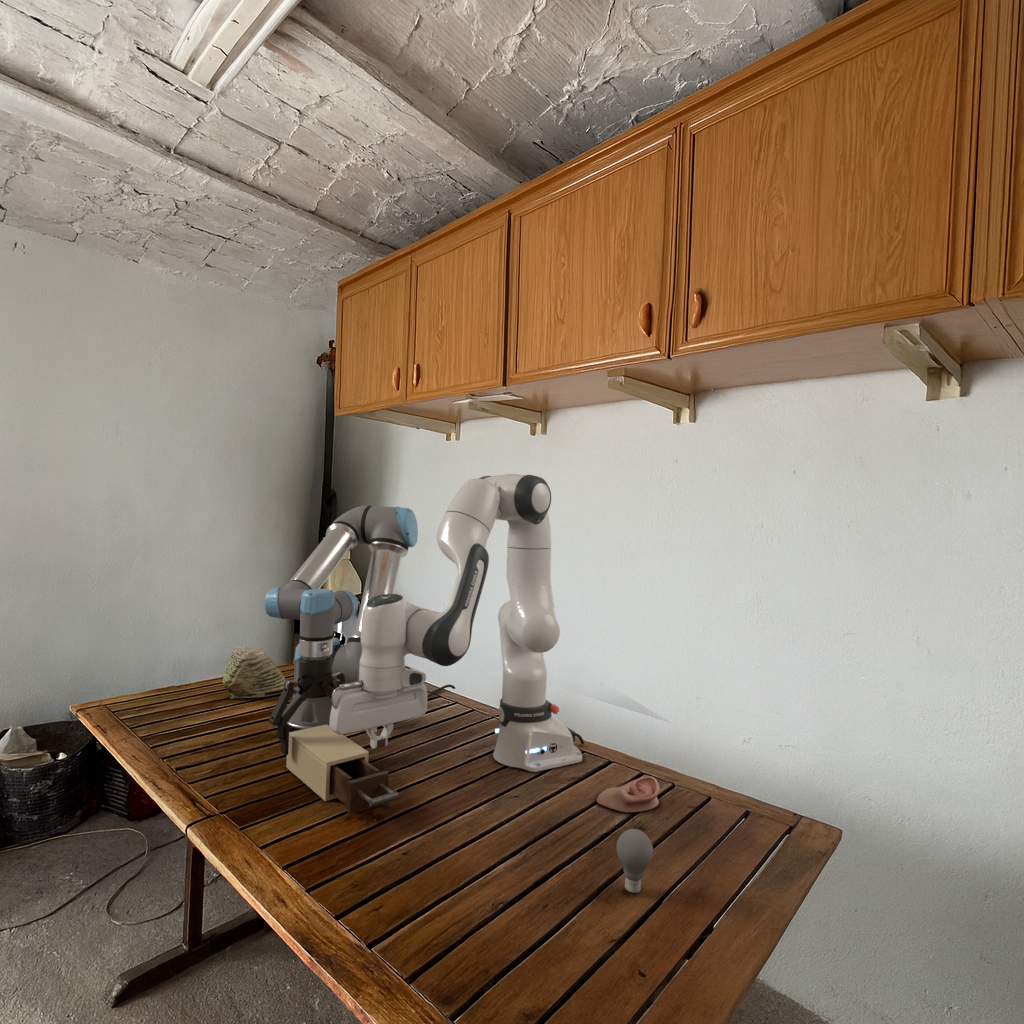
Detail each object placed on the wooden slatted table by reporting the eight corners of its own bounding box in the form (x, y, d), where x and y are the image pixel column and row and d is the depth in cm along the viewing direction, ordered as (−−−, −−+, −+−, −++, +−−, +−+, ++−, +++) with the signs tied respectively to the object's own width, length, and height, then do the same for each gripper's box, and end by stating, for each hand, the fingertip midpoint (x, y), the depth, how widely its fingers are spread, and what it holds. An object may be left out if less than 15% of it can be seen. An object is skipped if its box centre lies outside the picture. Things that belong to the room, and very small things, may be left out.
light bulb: (610, 879, 108) (613, 822, 108) (644, 879, 109) (647, 822, 109) (619, 902, 102) (622, 840, 102) (655, 901, 103) (658, 840, 103)
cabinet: (367, 788, 138) (368, 751, 138) (325, 801, 132) (326, 762, 132) (325, 757, 154) (326, 724, 154) (286, 767, 147) (287, 732, 147)
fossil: (218, 695, 195) (220, 647, 195) (278, 685, 208) (279, 640, 207) (228, 703, 189) (230, 653, 188) (289, 692, 201) (290, 645, 201)
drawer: (403, 814, 126) (404, 783, 126) (364, 827, 120) (366, 794, 120) (344, 769, 145) (345, 742, 145) (308, 779, 139) (309, 751, 139)
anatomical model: (596, 789, 133) (599, 767, 145) (595, 808, 134) (599, 785, 145) (660, 798, 131) (659, 775, 142) (659, 817, 131) (658, 792, 142)
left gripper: (268, 668, 137) (265, 765, 137) (371, 652, 153) (368, 738, 154) (255, 660, 142) (253, 753, 143) (356, 645, 159) (353, 729, 159)
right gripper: (340, 689, 116) (337, 764, 116) (432, 673, 130) (430, 740, 130) (325, 681, 121) (322, 753, 121) (415, 666, 134) (413, 731, 135)
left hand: (312, 746), depth 148 cm, fingers open, 13 cm apart
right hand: (378, 746), depth 126 cm, fingers closed
